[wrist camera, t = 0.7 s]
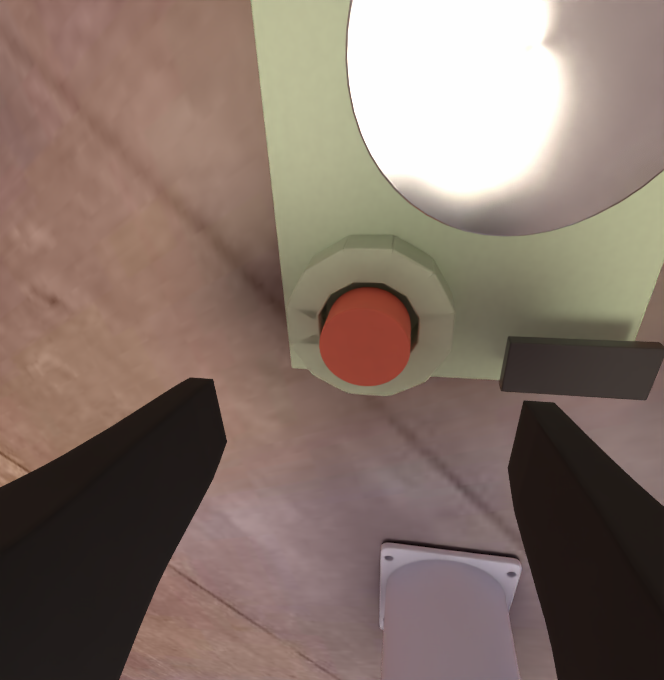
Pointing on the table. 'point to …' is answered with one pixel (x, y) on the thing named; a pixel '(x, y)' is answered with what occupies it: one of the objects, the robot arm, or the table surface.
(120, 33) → the table surface
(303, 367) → the scale
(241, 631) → the table surface
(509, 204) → the weighing plate
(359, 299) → the tare button
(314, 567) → the table surface
